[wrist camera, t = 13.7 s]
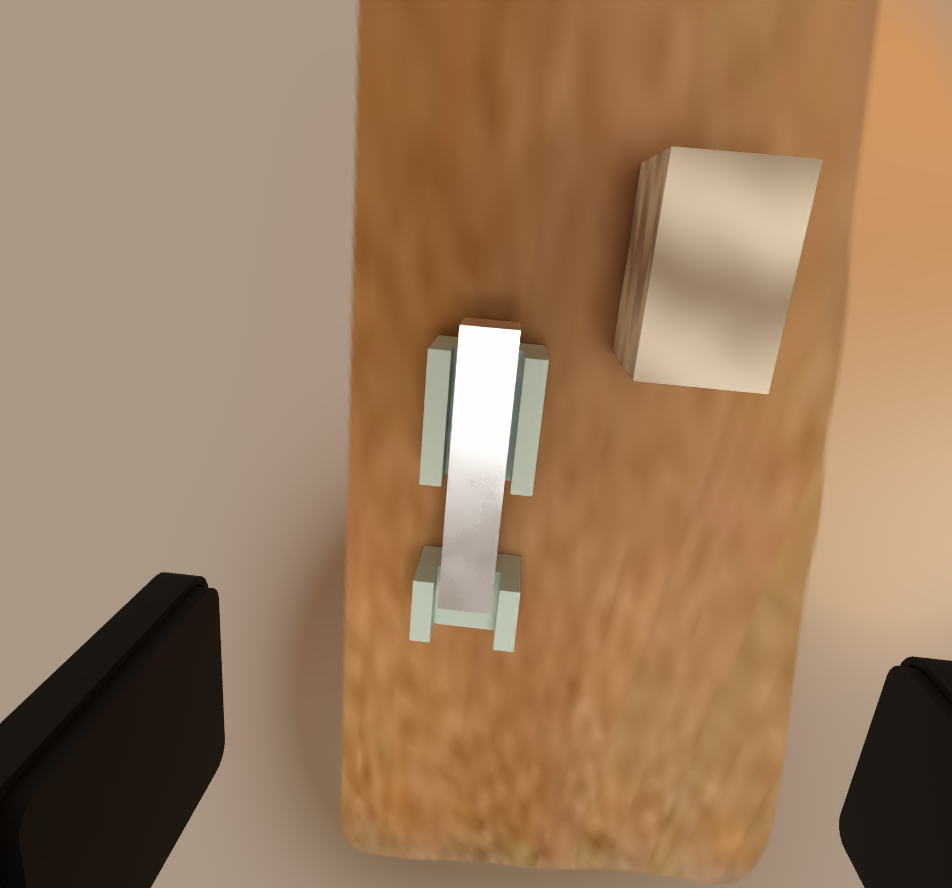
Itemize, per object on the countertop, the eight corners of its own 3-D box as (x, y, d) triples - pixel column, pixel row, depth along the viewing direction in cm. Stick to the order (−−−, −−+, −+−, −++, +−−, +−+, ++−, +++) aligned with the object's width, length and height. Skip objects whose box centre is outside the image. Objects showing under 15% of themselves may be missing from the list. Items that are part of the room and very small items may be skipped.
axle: (464, 317, 35) (459, 324, 32) (520, 322, 35) (520, 330, 32) (443, 581, 40) (437, 608, 38) (492, 586, 40) (490, 614, 37)
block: (641, 162, 35) (671, 146, 28) (761, 173, 34) (822, 159, 27) (612, 352, 38) (632, 380, 31) (722, 362, 38) (768, 394, 30)
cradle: (438, 335, 38) (427, 348, 34) (546, 345, 38) (548, 360, 34) (420, 599, 44) (409, 639, 39) (514, 610, 43) (513, 652, 39)
